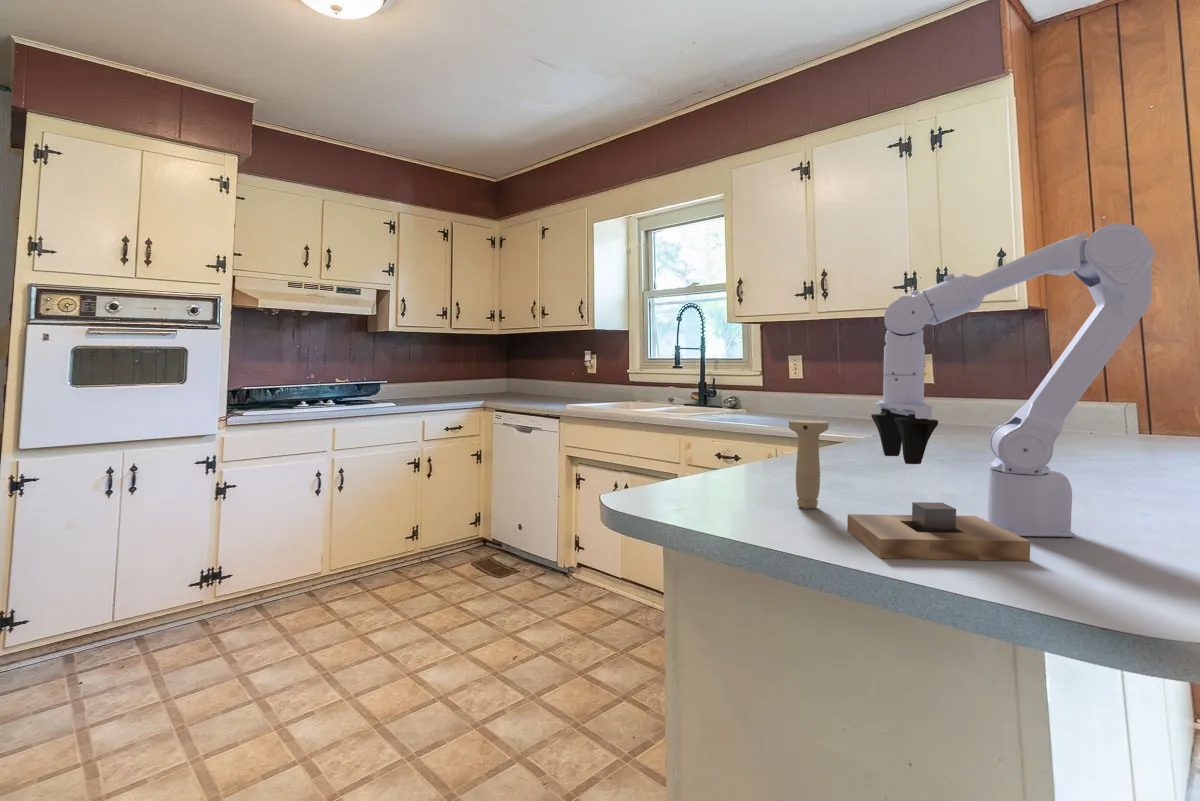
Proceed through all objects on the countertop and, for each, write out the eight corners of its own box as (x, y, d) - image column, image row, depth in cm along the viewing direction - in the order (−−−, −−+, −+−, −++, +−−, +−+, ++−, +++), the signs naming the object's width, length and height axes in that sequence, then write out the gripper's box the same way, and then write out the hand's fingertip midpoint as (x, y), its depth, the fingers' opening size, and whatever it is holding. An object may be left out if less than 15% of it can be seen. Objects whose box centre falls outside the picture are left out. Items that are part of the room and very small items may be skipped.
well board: (974, 532, 82) (975, 515, 82) (1029, 560, 70) (1030, 541, 70) (847, 530, 84) (847, 514, 84) (880, 558, 72) (880, 538, 72)
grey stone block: (941, 541, 79) (942, 502, 78) (955, 549, 75) (956, 509, 75) (911, 541, 79) (912, 502, 79) (923, 549, 76) (924, 508, 75)
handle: (824, 512, 94) (825, 423, 93) (785, 508, 98) (785, 421, 97) (829, 506, 98) (830, 421, 97) (791, 502, 102) (792, 419, 101)
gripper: (860, 374, 97) (859, 452, 98) (897, 375, 83) (895, 467, 83) (903, 374, 96) (901, 452, 97) (947, 375, 82) (945, 467, 83)
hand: (901, 459), depth 90 cm, fingers open, 7 cm apart
